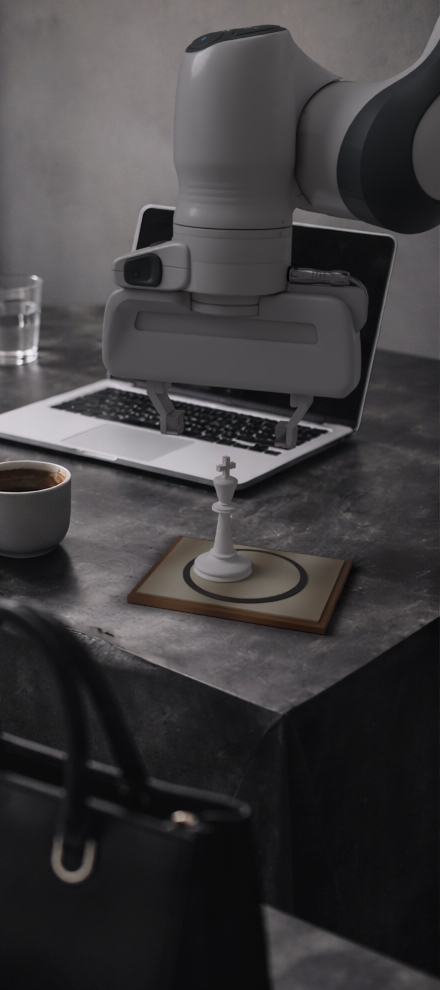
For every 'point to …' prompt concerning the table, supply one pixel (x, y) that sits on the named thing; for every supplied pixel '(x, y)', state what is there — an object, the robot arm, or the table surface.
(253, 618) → the wooden board
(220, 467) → the chess piece
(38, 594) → the table surface
